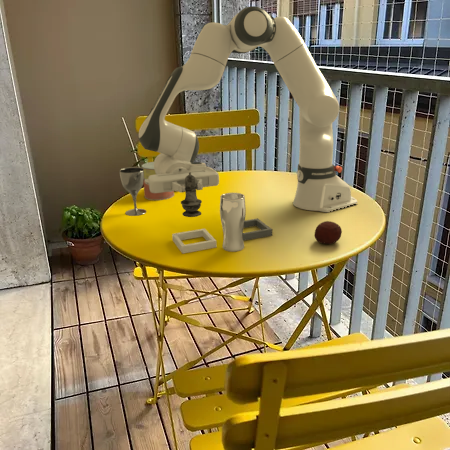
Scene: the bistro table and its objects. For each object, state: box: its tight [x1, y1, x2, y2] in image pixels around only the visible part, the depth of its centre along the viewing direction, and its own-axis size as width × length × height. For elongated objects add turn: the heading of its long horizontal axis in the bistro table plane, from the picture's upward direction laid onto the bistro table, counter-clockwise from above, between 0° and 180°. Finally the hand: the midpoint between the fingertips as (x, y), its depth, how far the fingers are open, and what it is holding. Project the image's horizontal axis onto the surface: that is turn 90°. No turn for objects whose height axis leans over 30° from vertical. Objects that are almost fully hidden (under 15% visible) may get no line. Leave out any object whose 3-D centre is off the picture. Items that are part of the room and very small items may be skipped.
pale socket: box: [171, 228, 218, 254], centre depth 130 cm, size 10×10×2 cm
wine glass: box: [119, 166, 147, 217], centre depth 153 cm, size 8×8×15 cm
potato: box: [314, 220, 343, 245], centre depth 128 cm, size 7×8×6 cm
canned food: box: [141, 161, 175, 201], centre depth 171 cm, size 11×11×12 cm
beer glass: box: [219, 192, 247, 253], centre depth 124 cm, size 7×7×15 cm
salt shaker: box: [180, 173, 203, 218], centre depth 124 cm, size 6×6×12 cm
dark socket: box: [243, 218, 273, 242], centre depth 136 cm, size 10×10×2 cm
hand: (191, 188), depth 123 cm, fingers closed on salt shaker, 3 cm apart
